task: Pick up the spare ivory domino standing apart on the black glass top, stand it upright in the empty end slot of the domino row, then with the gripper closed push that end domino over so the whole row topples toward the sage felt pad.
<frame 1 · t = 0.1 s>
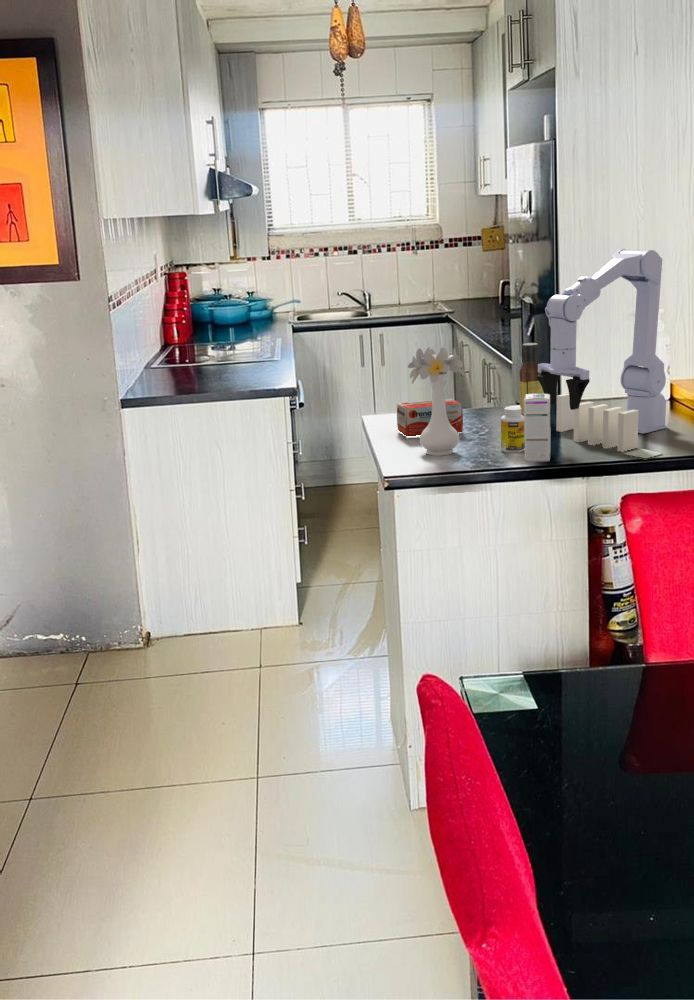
hand: (562, 406, 245), 10 cm above the table, tool pointing down, fingers open, 7 cm apart
domino 3: (597, 443, 251), on the table
domino 1: (565, 429, 266), on the table
syrup box: (537, 459, 241), on the table
sauce bottle: (531, 419, 279), on the table
domino 5: (627, 449, 244), on the table
medicine box: (430, 434, 269), on the table
felt pad: (643, 454, 239), on the table
domino 4: (612, 446, 248), on the table
supplement bottle: (512, 451, 248), on the table
domino 2: (583, 440, 255), on the table
flower vase: (437, 453, 250), on the table
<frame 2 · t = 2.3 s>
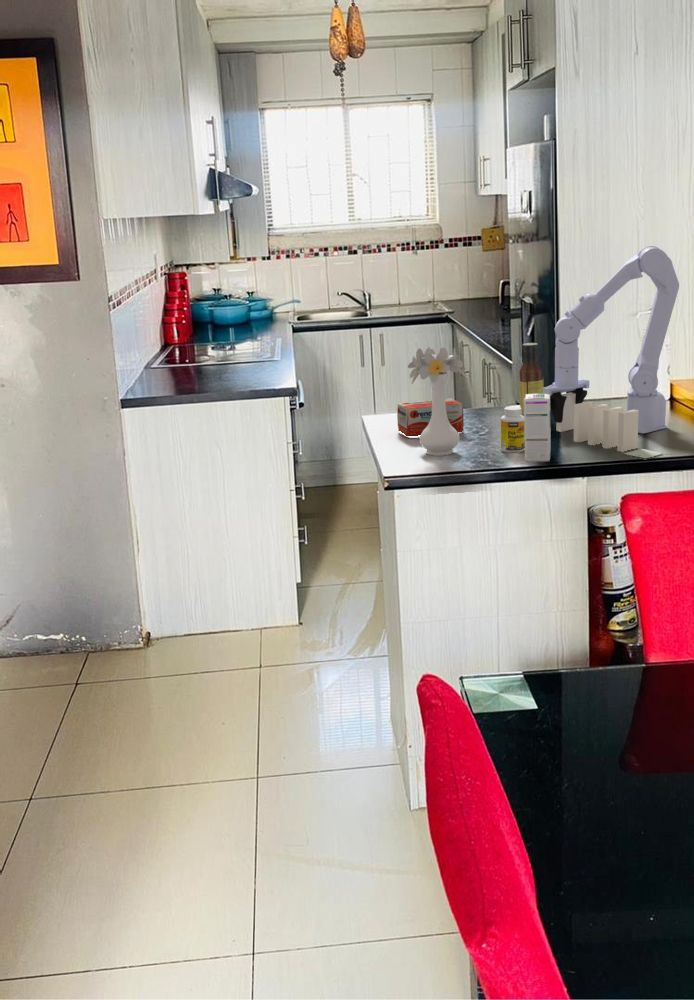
hand: (565, 420, 265), 2 cm above the table, tool pointing down, fingers closed on domino 1, 5 cm apart
domino 1: (565, 429, 266), on the table, touching gripper
everything else where it was.
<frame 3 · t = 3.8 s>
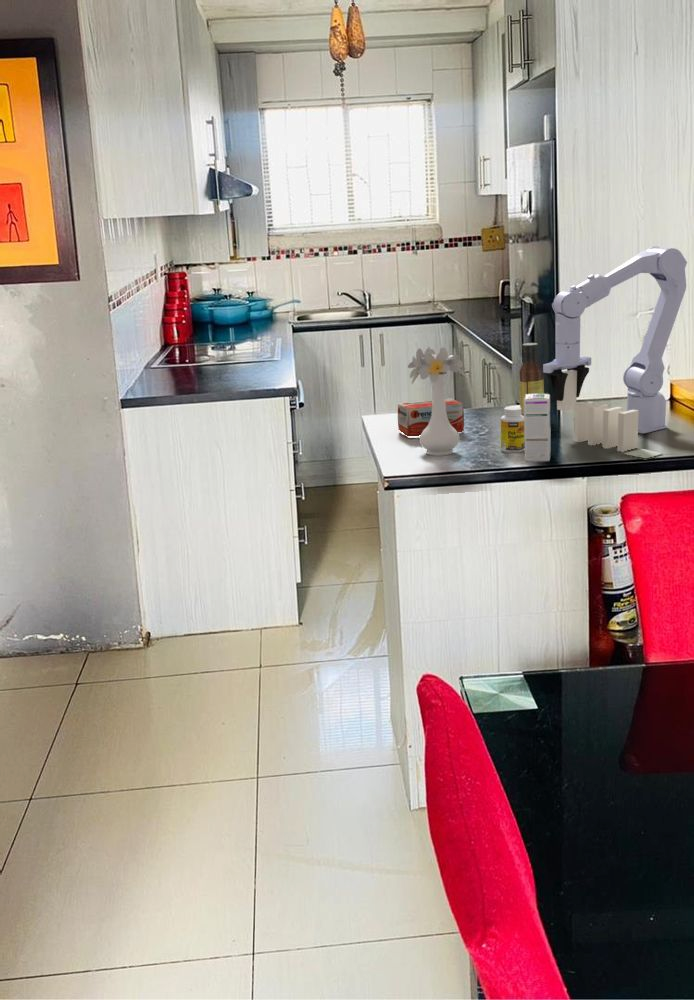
hand: (567, 398, 257), 9 cm above the table, tool pointing down, fingers closed on domino 1, 5 cm apart
domino 1: (566, 408, 257), point 7 cm above the table, touching gripper
everything else where it was.
when the fingers open (3 cm above the table, at t = 5.5 s): domino 1 stays where it is, on the table.
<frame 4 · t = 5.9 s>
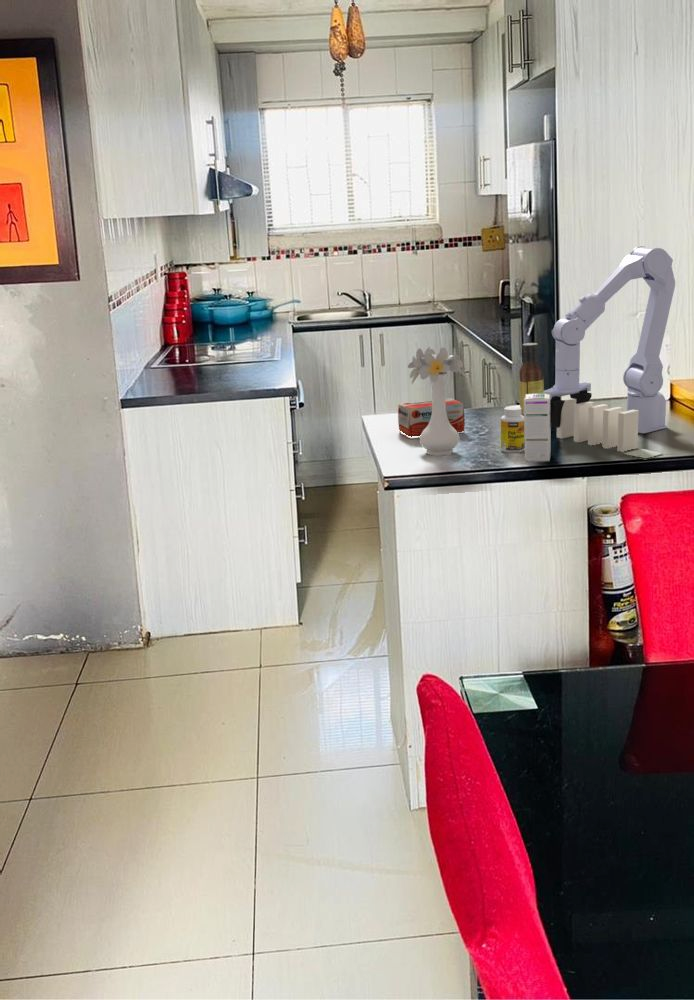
hand: (566, 424, 258), 3 cm above the table, tool pointing down, fingers open, 7 cm apart
domino 1: (566, 436, 259), on the table
everything else where it was.
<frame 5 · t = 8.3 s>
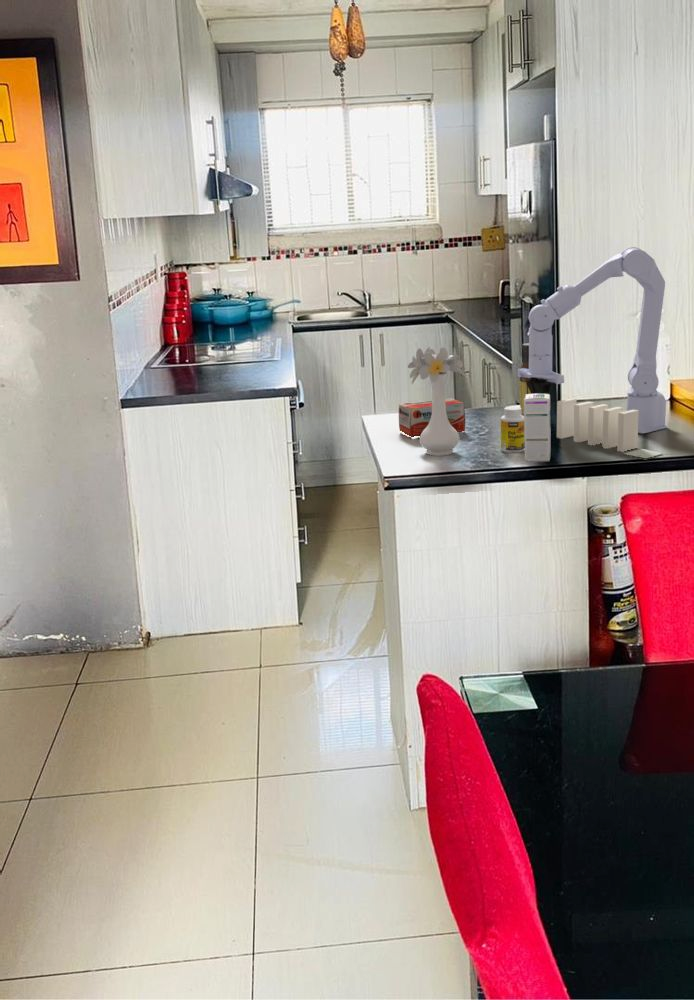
hand: (540, 408, 265), 6 cm above the table, tool pointing down, fingers closed
nothing on the table moved.
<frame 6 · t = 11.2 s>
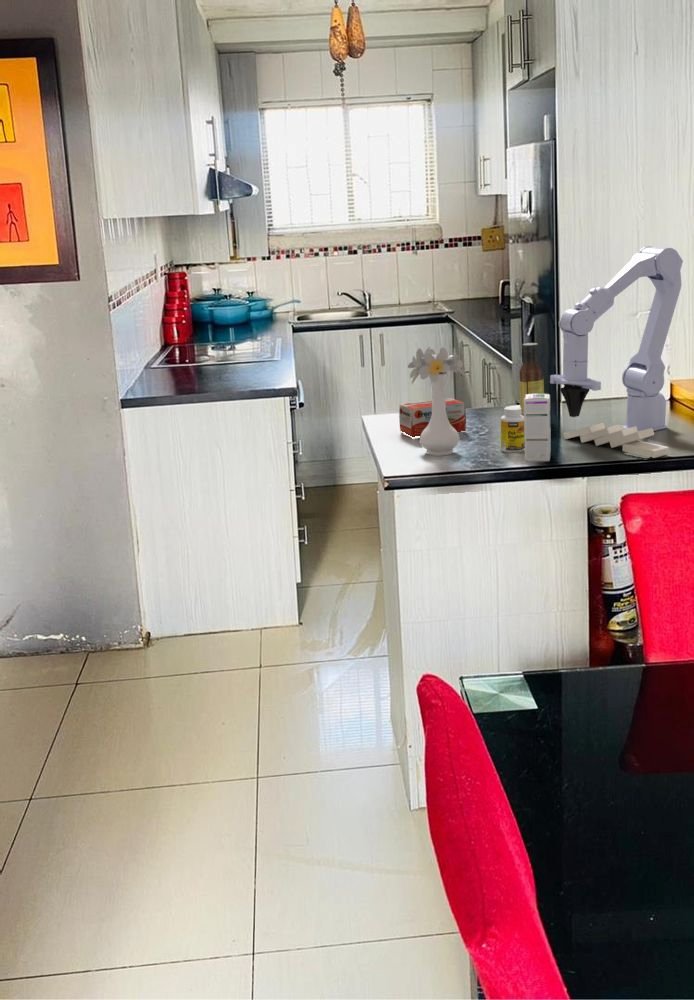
hand: (574, 416, 256), 5 cm above the table, tool pointing down, fingers closed
domino 3: (602, 441, 250), point 1 cm above the table, tilted 66°, touching domino 2, domino 4
domino 1: (570, 434, 258), point 1 cm above the table, tilted 70°, touching domino 2
domino 5: (629, 445, 243), point 1 cm above the table, tilted 90°, touching domino 4, felt pad
domino 4: (617, 442, 246), point 1 cm above the table, tilted 66°, touching domino 3, domino 5
domino 2: (587, 438, 254), point 1 cm above the table, tilted 67°, touching domino 1, domino 3
everything else where it was.
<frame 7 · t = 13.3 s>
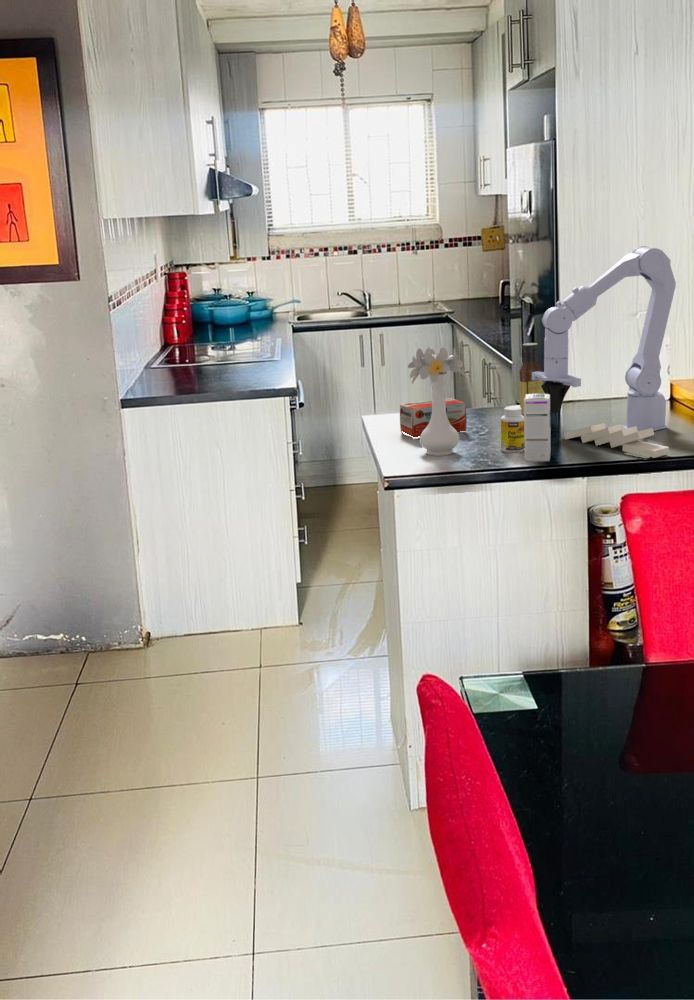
hand: (555, 412, 261), 5 cm above the table, tool pointing down, fingers closed
domino 3: (602, 441, 250), point 1 cm above the table, tilted 66°, touching domino 4
domino 2: (589, 438, 253), point 1 cm above the table, tilted 66°, touching domino 1
everything else where it was.
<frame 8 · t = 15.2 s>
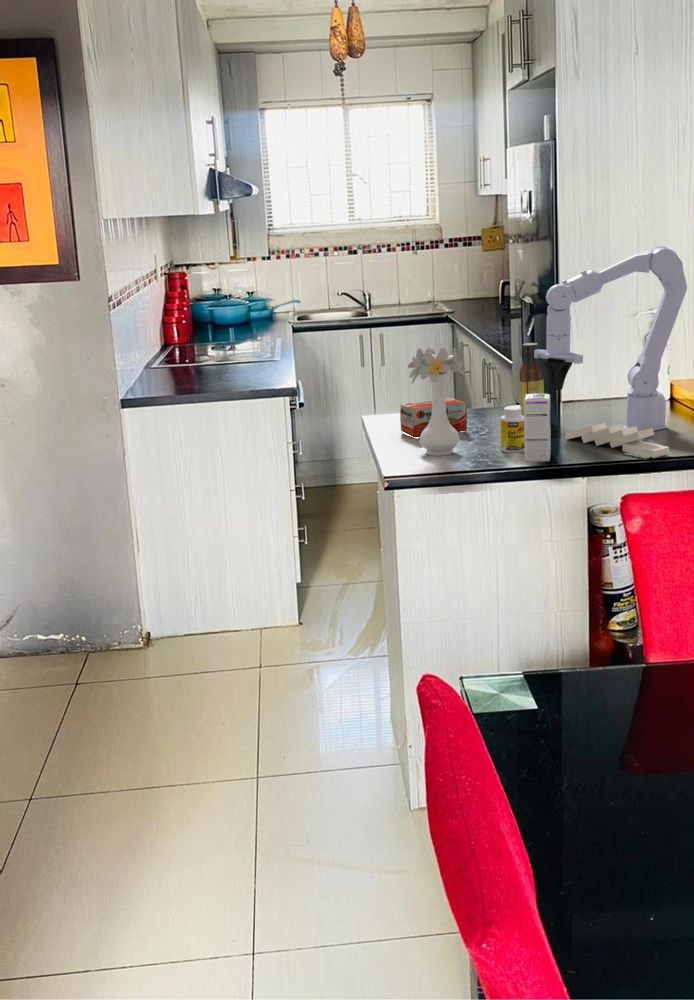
hand: (557, 389, 263), 10 cm above the table, tool pointing down, fingers closed
domino 3: (602, 441, 250), point 1 cm above the table, tilted 66°, touching domino 2, domino 4
domino 2: (589, 438, 253), point 1 cm above the table, tilted 66°, touching domino 1, domino 3
everything else where it was.
at the end: domino 5 tilted 90°; domino 1 tilted 70° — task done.
